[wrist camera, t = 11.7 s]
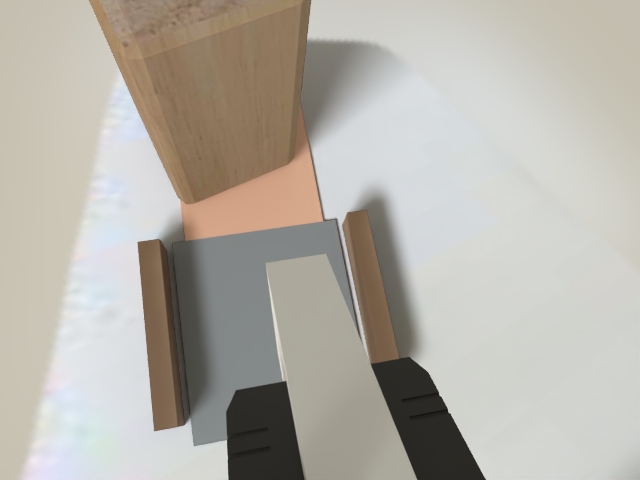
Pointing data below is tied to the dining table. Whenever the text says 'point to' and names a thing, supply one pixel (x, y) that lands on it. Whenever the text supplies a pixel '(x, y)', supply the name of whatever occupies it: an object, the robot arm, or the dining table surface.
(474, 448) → the dining table surface
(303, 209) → the tile
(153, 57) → the wooden block
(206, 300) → the grey square panel
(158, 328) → the lane rails
